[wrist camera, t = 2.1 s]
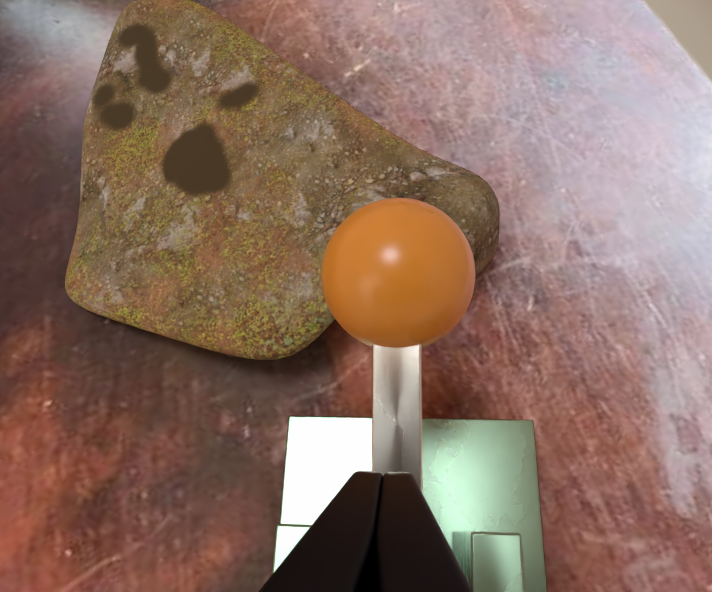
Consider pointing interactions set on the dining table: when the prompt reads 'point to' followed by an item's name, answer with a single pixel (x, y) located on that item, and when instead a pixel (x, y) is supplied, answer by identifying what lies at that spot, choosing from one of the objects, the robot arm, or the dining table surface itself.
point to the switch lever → (398, 309)
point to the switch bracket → (433, 490)
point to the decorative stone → (232, 185)
